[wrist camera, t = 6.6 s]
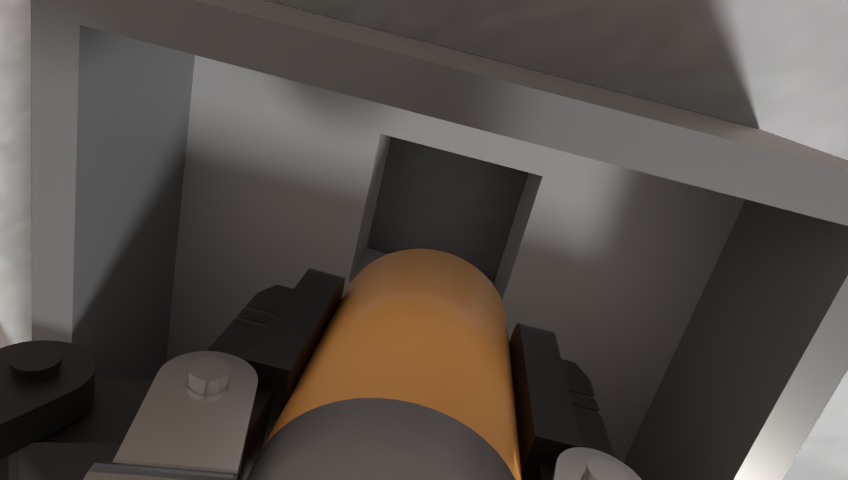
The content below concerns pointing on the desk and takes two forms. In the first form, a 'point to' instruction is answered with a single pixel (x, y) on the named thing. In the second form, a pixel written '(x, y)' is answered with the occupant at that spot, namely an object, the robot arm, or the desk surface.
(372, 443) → the peg
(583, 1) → the desk surface
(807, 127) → the desk surface
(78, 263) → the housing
